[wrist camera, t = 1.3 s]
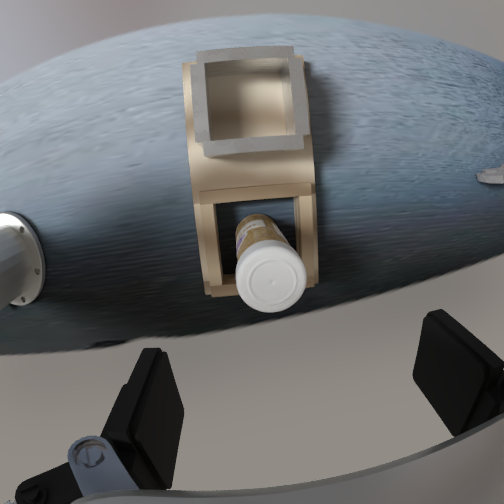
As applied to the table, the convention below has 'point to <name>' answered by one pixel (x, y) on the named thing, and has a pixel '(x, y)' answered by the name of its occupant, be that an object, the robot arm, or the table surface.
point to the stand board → (248, 168)
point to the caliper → (491, 175)
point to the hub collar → (250, 63)
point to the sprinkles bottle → (267, 266)
